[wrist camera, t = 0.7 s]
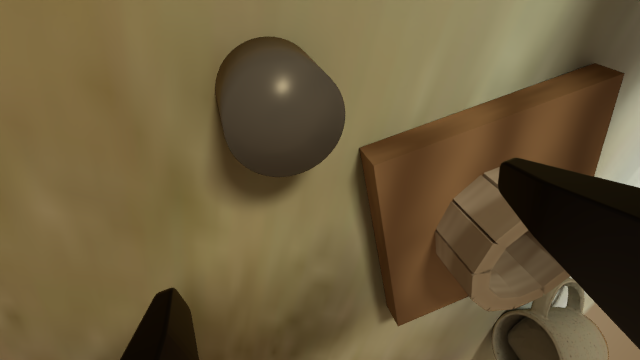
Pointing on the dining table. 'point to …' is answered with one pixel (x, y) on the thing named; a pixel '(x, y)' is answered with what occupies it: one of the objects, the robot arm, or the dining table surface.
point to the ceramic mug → (549, 331)
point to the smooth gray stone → (277, 107)
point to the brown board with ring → (479, 194)
